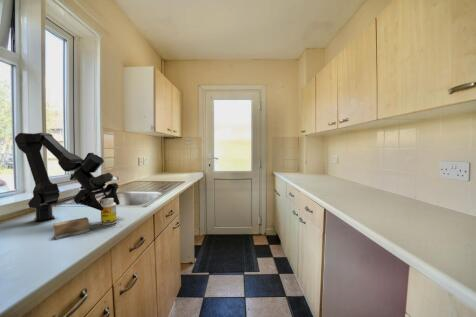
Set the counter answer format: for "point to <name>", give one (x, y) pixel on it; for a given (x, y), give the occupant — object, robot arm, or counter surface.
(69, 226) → the block
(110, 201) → the supplement bottle
